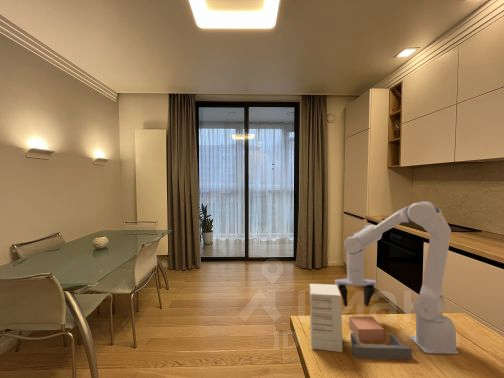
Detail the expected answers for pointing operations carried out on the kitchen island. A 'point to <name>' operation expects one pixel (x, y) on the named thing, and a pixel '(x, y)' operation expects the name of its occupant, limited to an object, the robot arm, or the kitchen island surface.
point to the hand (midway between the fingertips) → (355, 305)
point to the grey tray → (381, 349)
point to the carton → (366, 328)
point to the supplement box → (325, 317)
